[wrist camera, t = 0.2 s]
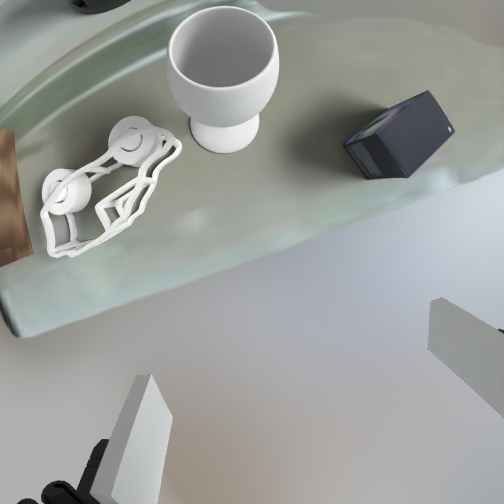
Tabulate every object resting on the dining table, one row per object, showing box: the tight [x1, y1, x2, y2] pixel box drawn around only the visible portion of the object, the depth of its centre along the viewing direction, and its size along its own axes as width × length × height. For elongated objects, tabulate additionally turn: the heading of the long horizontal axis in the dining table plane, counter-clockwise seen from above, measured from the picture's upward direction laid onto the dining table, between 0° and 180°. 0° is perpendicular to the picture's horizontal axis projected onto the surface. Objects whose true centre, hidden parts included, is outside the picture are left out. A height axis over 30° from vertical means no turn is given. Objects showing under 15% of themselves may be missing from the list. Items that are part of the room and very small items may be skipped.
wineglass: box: [166, 6, 279, 153], centre depth 25 cm, size 9×9×21 cm
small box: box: [343, 90, 455, 180], centre depth 32 cm, size 11×6×10 cm, turn 130°
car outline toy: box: [40, 116, 182, 258], centre depth 32 cm, size 20×11×7 cm, turn 118°
